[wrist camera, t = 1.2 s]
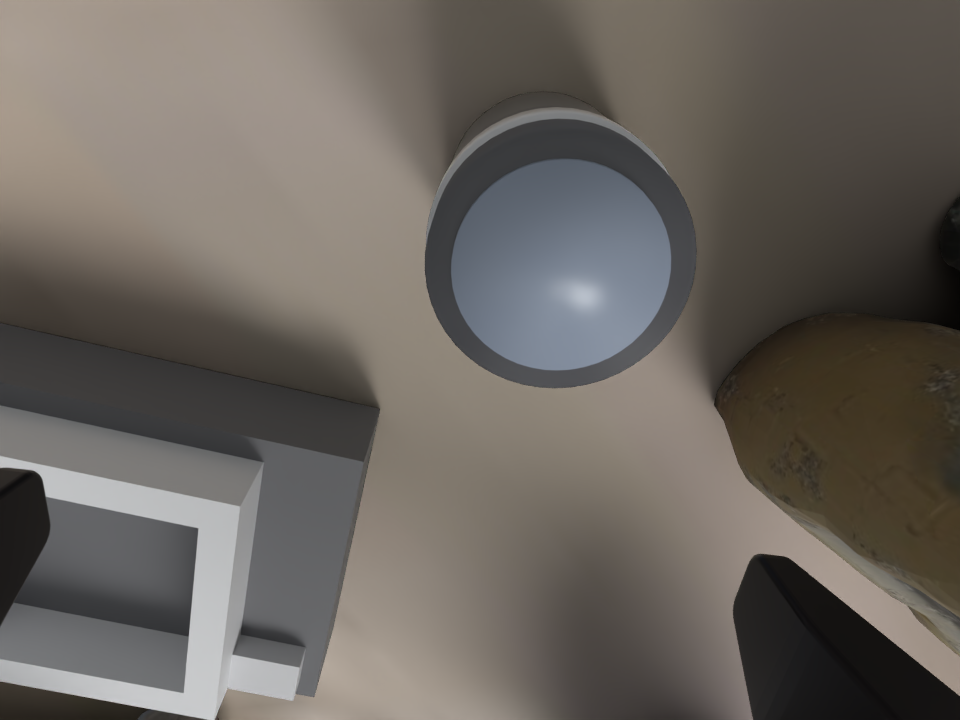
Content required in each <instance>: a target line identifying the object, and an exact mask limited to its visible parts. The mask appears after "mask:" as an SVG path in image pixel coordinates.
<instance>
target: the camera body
mask: <svg viewBox="0 0 960 720" xmlns="http://www.w3.org/2000/svg"><path fill="white" fill-rule="evenodd" d="M379 412H380V409H378V408H374V407H369V406H365V405H361V404H356V403H352V402H347V401H343V400H339V399H334V398H330V397H325V396H321V395H316V394H312V393H308V392H303V391H299V390H294V389H290V388H285V387H281V386H277V385H272V384H268V383H263V382H259V381H255V380H250V379H246V378H241V377H237V376H232V375H228V374H224V373H219V372H215V371H210V370H206V369H201V368H197V367H193V366H188V365H184V364H179V363H175V362H171V361H166V360H162V359H157V358H153V357H148V356H144V355H140V354H135V353H131V352H126V351H122V350H118V349H113V348H109V347H104V346H100V345H95V344H91V343H87V342H82V341H78V340H73V339H69V338H64V337H60V336H56V335H51V334H47V333H42V332H38V331H34V330H29V329H25V328H20V327H16V326H11V325H7V324H3V323H0V468H17V469H26V470H33V471H35V472H37V473H38V474H39V475H40V476H41V478H42V480H43V484H44V489H45V495H46V500H47V506H48V511H49V516H50V523H51V527H50V534H49V538H48V540H47V543H46V545H45V547H44V549H43V550H42V552H41V554H40V556H39V558H38V559H37V561H36V563H35V565H34V567H33V568H32V570H31V572H30V574H29V576H28V578H27V579H26V581H25V583H24V585H23V587H22V588H21V590H20V592H19V594H18V596H17V598H16V599H15V601H14V603H13V605H12V607H11V608H10V610H9V612H8V614H7V616H6V618H5V619H4V621H3V623H2V625H1V627H0V682H6V683H11V684H17V685H22V686H28V687H33V688H39V689H44V690H49V691H55V692H60V693H66V694H71V695H77V696H82V697H87V698H93V699H98V700H104V701H109V702H115V703H120V704H125V705H131V706H136V707H142V708H147V709H153V710H158V711H164V712H169V713H174V714H180V715H185V716H191V717H196V718H202V719H207V720H215V718H216V715H217V713H218V710H219V708H220V706H221V703H222V701H223V698H224V696H225V693H226V691H227V689H233V690H238V691H243V692H249V693H254V694H259V695H264V696H270V697H275V698H280V699H286V700H291V701H293V700H294V697H295V694H300V695H305V696H310V697H314V696H315V693H316V689H317V685H318V682H319V678H320V674H321V671H322V667H323V663H324V660H325V656H326V652H327V649H328V645H329V641H330V638H331V634H332V630H333V626H334V622H335V617H336V612H337V608H338V603H339V598H340V594H341V589H342V584H343V580H344V575H345V570H346V566H347V561H348V556H349V552H350V547H351V542H352V538H353V533H354V528H355V524H356V519H357V515H358V510H359V505H360V501H361V496H362V491H363V487H364V482H365V477H366V473H367V468H368V463H369V459H370V454H371V449H372V445H373V440H374V435H375V431H376V426H377V421H378V417H379Z"/></svg>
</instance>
